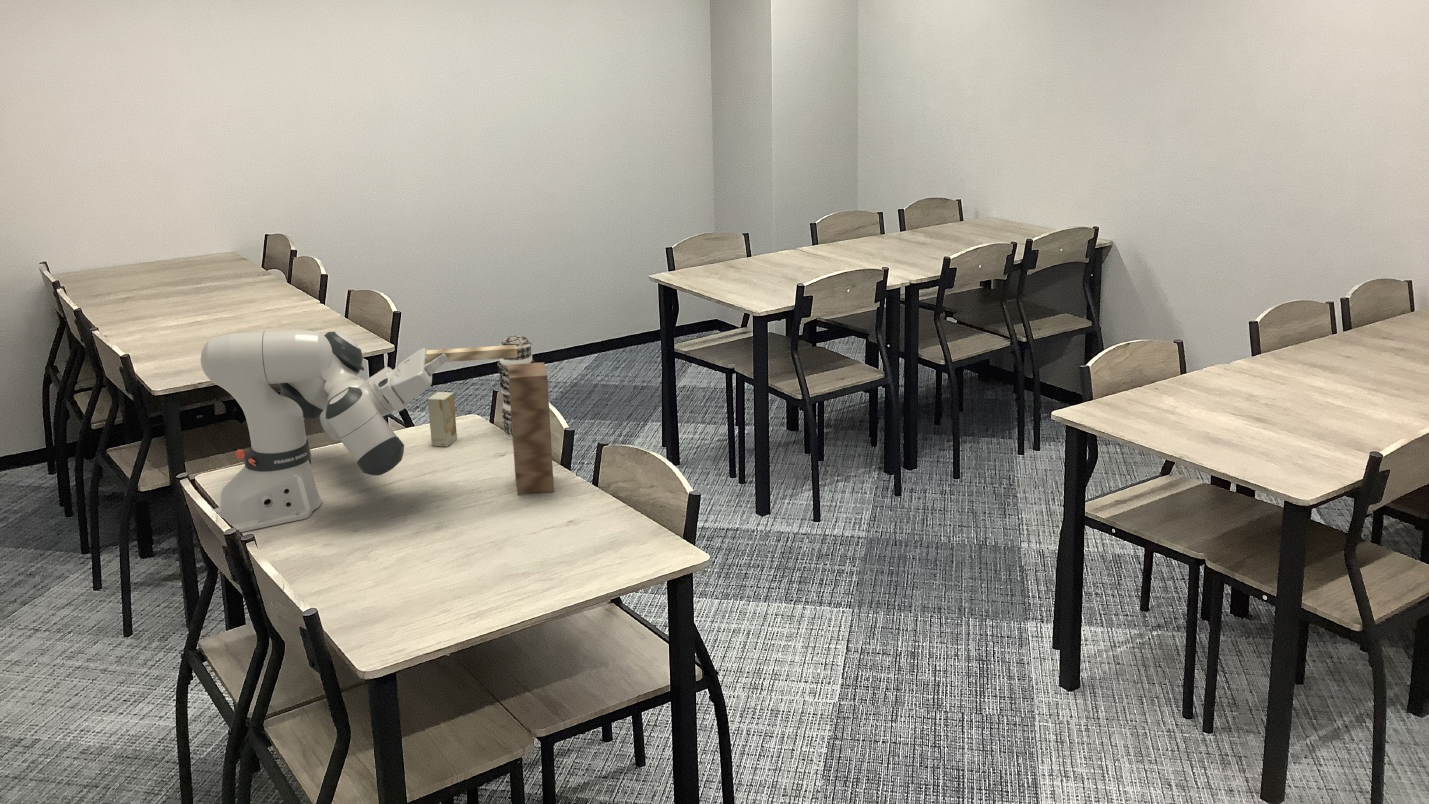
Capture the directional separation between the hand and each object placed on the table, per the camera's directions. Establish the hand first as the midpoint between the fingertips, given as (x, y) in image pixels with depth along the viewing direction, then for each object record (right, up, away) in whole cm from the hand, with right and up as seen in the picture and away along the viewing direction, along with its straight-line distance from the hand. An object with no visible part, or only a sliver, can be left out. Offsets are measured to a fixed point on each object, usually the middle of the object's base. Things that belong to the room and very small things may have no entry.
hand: (446, 353), depth 256 cm
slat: (+5, -1, +1) cm, 5 cm away
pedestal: (+17, -29, +13) cm, 36 cm away
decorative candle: (+9, -19, +45) cm, 50 cm away
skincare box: (-9, -21, +40) cm, 46 cm away
